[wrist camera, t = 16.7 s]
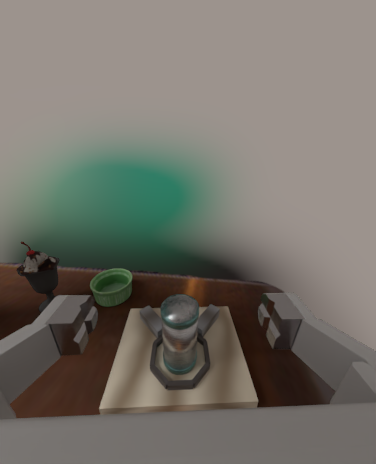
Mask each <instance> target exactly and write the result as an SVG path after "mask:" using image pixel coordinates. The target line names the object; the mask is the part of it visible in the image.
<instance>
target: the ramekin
mask: <svg viewBox="0 0 376 464" xmlns="http://www.w3.org/2000/svg"><path fill="white" fill-rule="evenodd" d="M90 289H91V290H92V292H93V295H94V298H95V300H96V302H97V303H98V304H99V305H101V306H106V307H110V306H116V305H119V304H121V303H123V302H124V301H126V300H127V299H128V298H129V297H130V295H131V292H132V274H131V273H130V272H129V271H128V270H125V269H110V270H106V271H104V272H101V273H99V274H98V275H96V276H95V277H94V278H93V279H92V280H91V282H90Z"/></svg>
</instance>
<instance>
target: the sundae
mask: <svg viewBox="0 0 376 464" xmlns="http://www.w3.org/2000/svg"><path fill="white" fill-rule="evenodd" d="M21 244H24V245H26V244H25V243H24V242H21ZM26 246H28V245H26ZM28 248H29V251H28V252H27V253H26V254H27V258H26V259H25V260H24V265H21V266H20V267H19V268H17V272H18V274H19V275H20V276H25V277H26V278H27V279H28V281H29V283H30V284H31V286H32V287H33V289H34V290H35V291H36V292H38V293H42V294H46V296H47V300H45V301H44V302H42V303H41V305H40V306H39V311H40V312H43V311H44V309H45V308H46V307H47V306H48V305H49V304H50V303H51V301H52V300H53V299H54V298H55V297H56V296H54V295H53V292H52V291H53V290H54V289H55V288H56V286H57V285H58V274H57V264H58V263H59V258H55V257H50V256H47V255H46V254H44V253H42V252H36V251H33V250H31V249H30V247H29V246H28Z"/></svg>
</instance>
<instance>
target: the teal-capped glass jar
mask: <svg viewBox="0 0 376 464" xmlns="http://www.w3.org/2000/svg"><path fill="white" fill-rule="evenodd" d="M198 318H199V305H198V303H197V301H196V300H195V299H194V298H193V297H191V296H188V295H184V294H176V295H172V296H170V297H168V298H167V299H165V300H164V301H163V303H162V305H161V319H162V333H163V362H164V365H165V367H166V369H167V370H168V371H169V372H171V373H172V374H175V375H184V374H187V373H189V372H190V371H191V370H192V369H193V368H194V366H195V364H196V360H197V330H198Z"/></svg>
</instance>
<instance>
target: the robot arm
mask: <svg viewBox="0 0 376 464" xmlns="http://www.w3.org/2000/svg"><path fill="white" fill-rule="evenodd" d="M261 301H262V304H261V305H260V306H259V309H258V318H259V321H260V324H261V326H262V327H263V328H264V329H265V330H266V331H267V334H266V337H267V339H268V341H269V343H270V345H271V347H272V349H291V350H292V351H293V352H294V353H295V354H296V355H297V356H298V357H299V358H300V359H301V360H302V361H303V362H304V363H306V364H307V365H308V366H309V367H310V368H311V369H312V370H313V371H314V372H315V373H316V374H317V375H319V376H320V377H321V378H322V379H323V380H324V381H325V382H326V383H327V384H328V385H329V386H330V387H331V388H333V389H334V390H335V393H334V395H333V397H332V398H331V400H330V404H328V405H306V406H284V407H261V408H238V409H215V410H193V411H171V412H149V413H127V414H105V415H83V416H61V417H39V418H17V419H16V414H15V412H14V411H13V409H12V408H11V406H10V403H11V402H13V401H14V400H15V399H16V398H17V397H18V396H19V395H20V394H21V393H22V392H23V391H24V390H26V389H27V388H28V387H29V386H30V385H31V384H32V383H33V382H34V381H35V380H36V379H37V378H38V377H40V376H41V375H42V374H43V373H44V372H45V371H46V370H47V369H48V368H49V367H50V366H51V365H52V364H54V363H55V362H56V361H57V360H58V359H59V358H60V357H61V356H63V355H81V354H82V353H83V351H84V349H85V347H86V345H87V343H88V341H89V338H88V334H90V333H91V332H92V331H93V330H94V328H95V326H96V323H97V319H98V312H97V309H96V308H95V307H94V306H93V305H94V303H95V299H94V296H92V295H58V296H56V297H55V298H54V299H53V300H52V301H51V303H50V304H49V305H48V306H47V307H46V308H45V309H44V311H43V312H42V313H41V314H40V315H39V316H38V317H37V319H36V320H35V321H34V322H33V323H32V324H31V325H26V326H24V327H23V328H21V329H19V330H17V331H16V332H14V333H12V334H11V335H9V336H7V337H5V338H4V339H2V340H0V464H376V351H374V350H373V349H371V348H369V347H368V346H366V345H364V344H362V343H361V342H359V341H357V340H356V339H354V338H352V337H350V336H349V335H347V334H345V333H344V332H342V331H340V330H338V329H337V328H335V327H333V326H332V325H330V324H328V323H326V322H325V321H323V320H321V319H317V318H316V317H315V316H314V315H313V314H312V312H311V311H310V310H309V309H308V307H306V305H305V304H304V303H303V302H302V300H301V299H300V298H299V297H298V296H297V295H296V294H295V293H263V294H262V296H261Z"/></svg>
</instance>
